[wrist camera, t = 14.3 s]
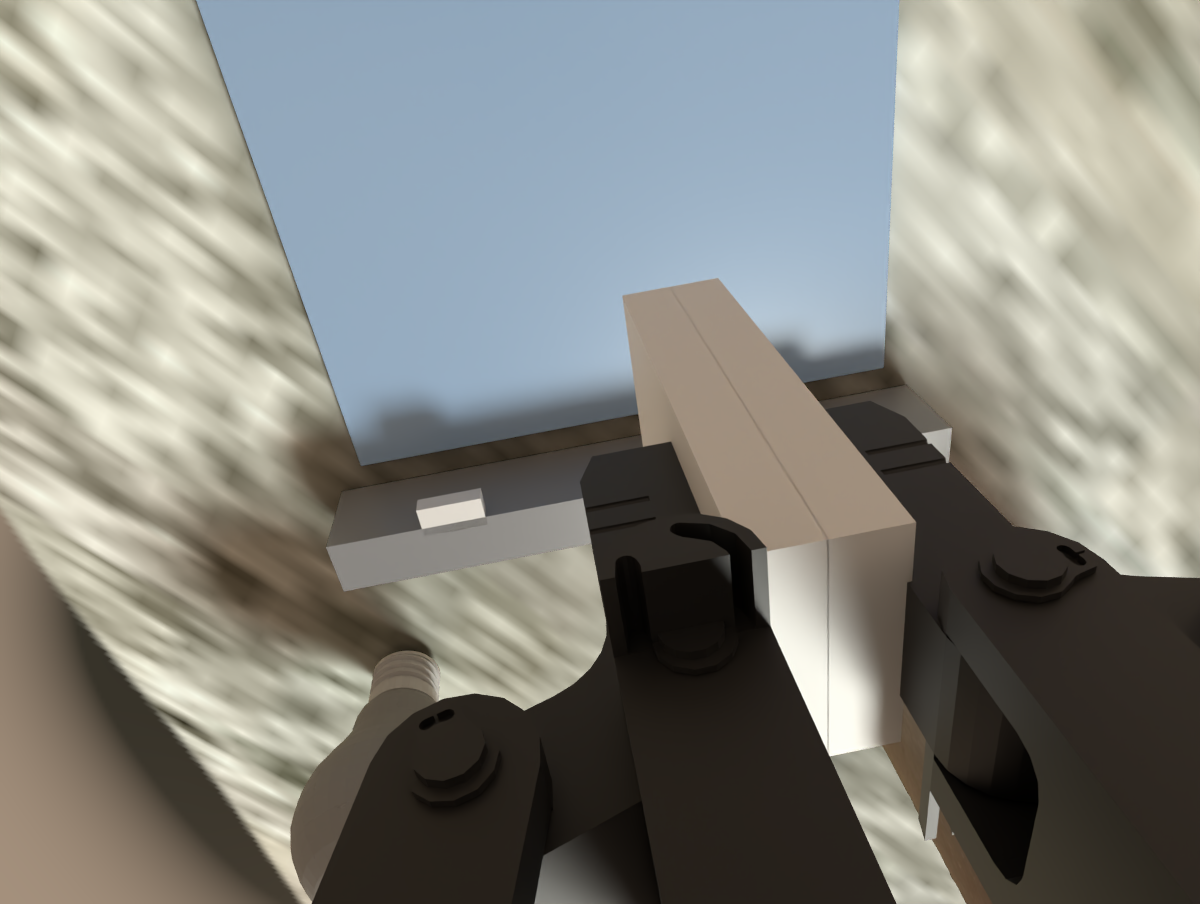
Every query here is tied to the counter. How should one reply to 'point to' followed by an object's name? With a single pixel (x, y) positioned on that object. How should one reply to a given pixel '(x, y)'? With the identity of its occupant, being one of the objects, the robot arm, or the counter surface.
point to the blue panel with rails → (555, 224)
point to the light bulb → (356, 760)
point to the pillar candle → (910, 771)
